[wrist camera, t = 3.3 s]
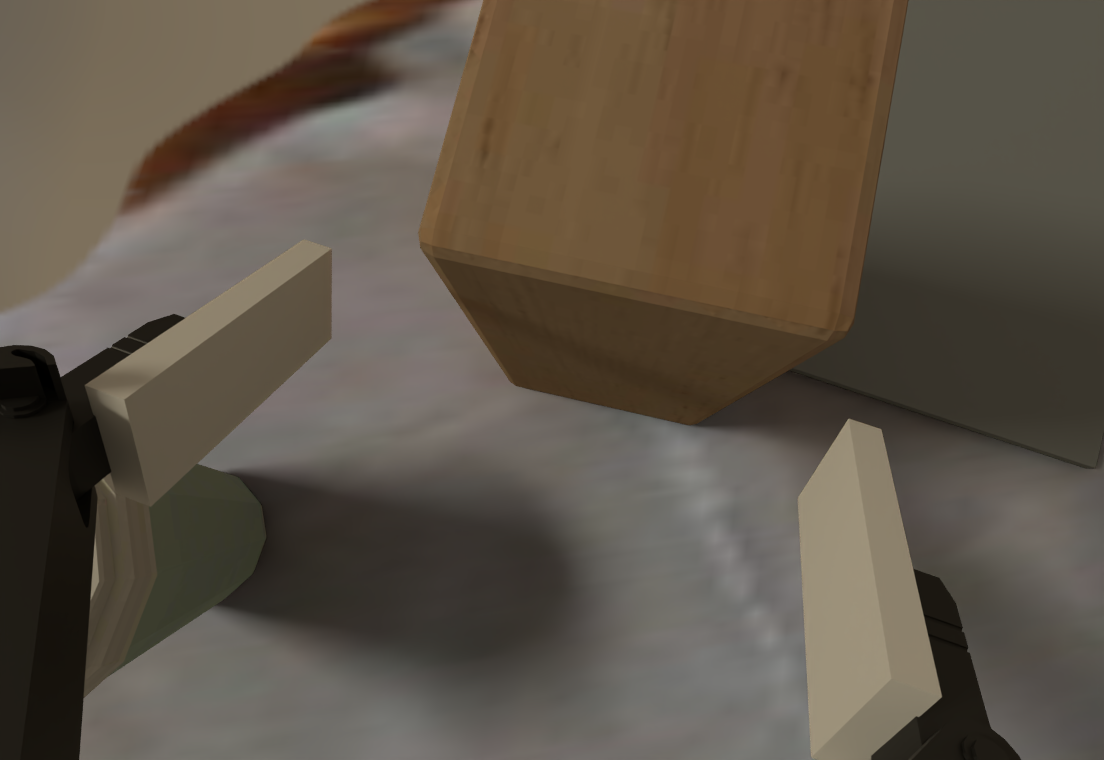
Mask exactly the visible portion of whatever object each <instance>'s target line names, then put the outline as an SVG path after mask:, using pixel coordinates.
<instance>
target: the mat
mask: <svg viewBox="0 0 1104 760" xmlns="http://www.w3.org/2000/svg"><path fill="white" fill-rule="evenodd" d="M790 371H793V372H796V373H799V374H802V375H805V376H808V377H811V378H814V379H817V380H820V381H823V382H826V383H830V384H833V385H836V386H839V387H842V388H845V389H848V390H851V391H854V392H857V393H860V394H863V395H866V396H869V397H872V398H875V399H878V400H881V401H884V402H887V403H890V404H893V405H896V406H899V407H902V408H905V409H908V410H911V411H914V412H917V413H920V414H923V415H926V416H929V417H932V418H935V419H938V420H941V421H944V422H947V423H950V424H953V425H956V426H959V427H962V428H966V429H969V430H972V431H975V432H978V433H981V434H984V435H987V436H990V437H993V438H996V439H999V440H1002V441H1005V442H1008V443H1011V444H1014V445H1017V446H1020V447H1023V448H1026V449H1029V450H1032V451H1035V452H1038V453H1041V454H1044V455H1047V456H1050V457H1053V458H1056V459H1059V460H1062V461H1065V462H1068V463H1071V464H1074V465H1077V466H1080V467H1083V468H1096V464H1097V460H1098V456H1099V452H1100V447H1101V443H1102V439H1103V434H1104V0H909V1H908V7H907V13H906V19H905V25H904V31H903V37H902V43H901V48H900V54H899V60H898V66H897V72H896V78H895V84H894V90H893V96H892V102H891V107H890V113H889V119H888V125H887V131H886V137H885V143H884V149H883V155H882V161H881V166H880V172H879V178H878V184H877V190H876V196H875V202H874V208H873V214H872V219H871V225H870V231H869V237H868V243H867V249H866V255H865V261H864V267H863V273H862V278H861V284H860V290H859V296H858V302H857V308H856V314H855V320H854V324H853V326H852V327H851V329H850V330H849V332H848V333H847V335H846V336H845V338H843V339H842V340H840V341H838V342H837V343H835V344H833V345H831V346H830V347H828V348H826V349H825V350H823V351H821V352H819V353H818V354H816V355H814V356H812V357H811V358H809V359H807V360H806V361H804V362H802V363H800V364H799V365H797V366H795V367H794V368H792V369H790Z"/></svg>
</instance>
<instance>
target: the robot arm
mask: <svg viewBox="0 0 1104 760" xmlns="http://www.w3.org/2000/svg"><path fill="white" fill-rule="evenodd" d="M331 295H332V249H331V248H328V247H325V246H322V245H319V244H316V243H313V242H310V241H307V240H302V241H301V242H299V243H298V244H296V245H295V246H293V247H292V248H290V249H289V250H287V251H286V252H284V253H283V254H281V255H280V256H278V257H277V258H275V259H274V260H272V261H271V262H269V263H268V264H266V265H265V266H263V267H262V268H260V269H259V270H257V271H256V272H254V273H253V274H251V275H250V276H248V277H247V278H245V279H244V280H242V281H241V282H239V283H238V284H236V285H235V286H233V287H232V288H230V289H229V290H227V291H226V292H224V293H223V294H221V295H220V296H218V297H217V298H215V299H214V300H212V301H211V302H209V303H208V304H206V305H204V306H203V307H201V308H200V309H198V310H197V311H195V312H194V313H192V314H191V315H189V316H188V317H186V318H184V317H181V316H178V315H176V314H173V315H170V316H166V317H163V318H160V319H157V320H154V321H151V322H148V323H146V324H145V325H143V326H141V327H140V328H138V329H137V330H135V331H134V332H132V333H130V334H129V335H128V337H127V338H125V337H124V338H122V339H121V340H119V341H118V342H116V343H115V344H113V345H112V347H111V348H107V349H105V350H103V351H102V352H100V353H99V354H97V355H96V356H94V357H92V358H91V359H89V360H88V361H86V362H84V363H83V364H81V365H80V366H78V367H77V368H75V369H73V370H72V371H70V372H69V373H67V374H65V375H64V376H62V377H60V374H59V371H58V368H57V365H56V362H55V358H54V356H53V355H52V354H51V353H49V352H48V351H47V350H45V349H42V348H38V347H34V346H24V345H12V346H6V347H0V760H79V754H80V740H81V726H82V712H83V698H84V684H85V670H86V656H87V642H88V628H89V614H90V600H91V586H92V571H93V557H94V543H95V529H96V515H97V501H98V496H97V492H96V488H95V485H96V484H97V483H98V482H100V481H101V480H102V479H103V478H104V477H106V476H107V475H108V474H109V473H110V474H111V478H112V481H113V485H114V488H115V492H116V494H118V495H121V496H123V497H126V498H129V499H131V500H134V501H137V502H139V503H142V504H145V505H147V506H150V507H151V506H152V505H153V504H154V503H155V502H156V501H158V500H159V499H160V498H161V497H162V496H163V495H164V494H165V493H166V492H167V491H168V490H169V489H170V488H171V487H173V486H174V485H175V484H176V483H177V482H178V481H179V480H180V479H181V478H182V477H183V476H184V475H185V474H186V473H188V472H189V471H190V470H191V469H192V468H193V467H194V466H195V465H196V464H197V463H198V462H199V461H200V460H201V459H203V458H204V457H205V456H206V455H207V454H208V453H209V452H210V451H211V450H212V449H213V448H214V447H215V446H216V445H218V444H219V443H220V442H221V441H222V440H223V439H224V438H225V437H226V436H227V435H228V434H229V433H230V432H231V431H233V430H234V429H235V428H236V427H237V426H238V425H239V424H240V423H241V422H242V421H243V420H244V419H245V418H246V417H248V416H249V415H250V414H251V413H252V412H253V411H254V410H255V409H256V408H257V407H258V406H259V405H260V404H262V403H263V402H264V401H265V400H266V399H267V398H268V397H269V396H270V395H271V394H272V393H273V392H274V391H275V390H277V389H278V388H279V387H280V386H281V385H282V384H283V383H284V382H285V381H286V380H287V379H288V378H289V377H290V376H292V375H293V374H294V373H295V372H296V371H297V370H298V369H299V368H300V367H301V366H302V365H303V364H304V363H305V362H307V361H308V360H309V359H310V358H311V357H312V356H313V355H314V354H315V353H316V352H317V351H318V350H319V349H320V348H322V347H323V346H324V345H325V344H326V343H327V342H328V341H329V340H330V339H331ZM798 511H799V530H800V549H801V568H802V588H803V607H804V626H805V646H806V665H807V684H808V703H809V723H810V742H811V758H814V759H817V760H870V759H871V760H1021V759H1020V757H1019V755H1018V754H1017V753H1016V752H1015V751H1014V750H1013V748H1012V747H1011V746H1010V745H1009V744H1008V743H1007V741H1006V740H1005V739H1004V738H1002V737H1001V736H1000V735H998V734H997V733H996V732H995V731H993V730H992V729H991V727H990V724H989V721H988V717H987V713H986V710H985V706H984V703H983V699H982V695H981V692H980V688H979V685H978V681H977V678H976V674H975V670H974V667H973V663H972V660H971V656H970V653H968V652H967V649H968V645H967V642H966V638H965V634H964V633H963V632H962V628H963V627H962V624H961V620H960V616H959V613H958V609H957V606H956V603H955V601H954V600H953V598H952V597H951V595H950V594H949V592H948V591H947V589H946V588H945V586H944V584H943V583H942V581H941V580H940V578H938V577H935V576H932V575H929V574H926V573H923V572H921V571H918V570H915V569H913V566H912V562H911V558H910V553H909V549H908V544H907V540H906V536H905V531H904V527H903V522H902V518H901V514H900V509H899V505H898V500H897V496H896V491H895V487H894V483H893V478H892V474H891V469H890V465H889V461H888V456H887V452H886V447H885V443H884V438H883V434H882V430H881V429H879V428H876V427H873V426H870V425H867V424H864V423H861V422H858V421H855V420H852V419H848V420H847V422H846V423H845V425H844V427H843V428H842V430H841V431H840V433H839V434H838V436H837V438H836V439H835V441H834V442H833V444H832V445H831V447H830V448H829V450H828V452H827V453H826V455H825V456H824V458H823V459H822V461H821V463H820V464H819V466H818V467H817V469H816V470H815V472H814V474H813V475H812V477H811V478H810V480H809V481H808V483H807V484H806V486H805V488H804V489H803V491H802V492H801V494H800V495H799V497H798Z"/></svg>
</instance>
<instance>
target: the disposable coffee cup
mask: <svg viewBox="0 0 1104 760" xmlns="http://www.w3.org/2000/svg"><path fill="white" fill-rule="evenodd" d="M95 488H96V492H97V496H98V501H97V515H96V529H95V543H94V557H93V571H92V586H91V600H90V614H89V628H88V642H87V656H86V670H85V684H84V697H85V696H87V695H88V694H89V693H90V692H91V691H92V690H93V689H94V688H95V687H97V686H98V685H99V684H100V683H101V682H102V681H103V680H104V679H105V678H107V677H108V676H110V675H111V674H113V673H114V672H116V671H117V670H119V669H120V668H122V667H123V666H125V665H126V664H128V663H129V662H131V661H132V660H134V659H135V658H137V657H138V656H140V655H141V654H143V653H144V652H146V651H147V650H149V649H150V648H152V647H153V646H155V645H156V644H158V643H159V642H161V641H162V640H164V639H165V638H167V637H168V636H170V635H171V634H173V633H174V632H176V631H177V630H179V629H180V628H182V627H183V626H185V625H186V624H188V623H189V622H191V621H192V620H194V619H195V618H197V617H198V616H200V615H201V614H203V613H204V612H206V611H207V610H209V609H210V608H212V607H213V606H215V605H216V604H218V603H219V602H221V601H222V600H224V599H225V598H226V597H228V596H229V595H230V594H231V593H232V592H233V591H234V590H235V589H236V588H238V587H239V586H240V585H241V584H242V583H243V582H244V581H245V580H246V579H248V578H249V577H250V576H251V575H252V574H253V572H254V570H255V567H256V565H257V562H258V559H259V556H260V554H261V551H262V548H263V546H264V543H265V540H266V537H267V536H266V530H265V523H264V517H263V510H262V505H261V504H260V502H259V501H258V500H257V499H256V497H255V496H254V495H253V494H252V493H251V491H250V490H249V489H248V488H247V487H246V485H245V484H244V483H243V482H242V481H241V479H240V478H239V477H236V476H233V475H230V474H227V473H224V472H221V471H218V470H215V469H211V468H208V467H205V466H202V465H199V464H196V465H195V466H194V467H193V468H192V469H191V470H190V471H189V472H188V473H186V474H185V475H184V476H183V477H182V478H181V479H180V480H179V481H178V482H177V483H176V484H175V485H174V486H173V487H171V488H170V489H169V490H168V491H167V492H166V493H165V494H164V495H163V496H162V497H161V498H160V499H159V500H158V501H156V502H155V503H154V504H153V505H152V506H151V507H150V506H147V505H145V504H142V503H139V502H137V501H134V500H131V499H129V498H126V497H123V496H121V495H118V494H116V492H115V488H114V485H113V481H112V478H111V474H110V473H109V474H108V475H107V476H106V477H104V478H103V479H102V480H101V481H100V482H98V483H97V484H96V485H95Z"/></svg>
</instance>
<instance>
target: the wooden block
mask: <svg viewBox="0 0 1104 760" xmlns="http://www.w3.org/2000/svg"><path fill="white" fill-rule="evenodd" d="M908 1H909V0H483V4H482V7H481V11H480V15H479V18H478V22H477V25H476V29H475V32H474V36H473V39H472V43H471V47H470V50H469V54H468V57H467V61H466V64H465V68H464V72H463V75H462V79H461V82H460V86H459V89H458V93H457V96H456V100H455V104H454V107H453V111H452V114H451V118H450V121H449V125H448V129H447V132H446V136H445V139H444V143H443V146H442V150H441V153H440V157H439V161H438V164H437V168H436V171H435V175H434V178H433V182H432V185H431V189H430V193H429V196H428V200H427V203H426V207H425V210H424V214H423V218H422V221H421V225H420V228H419V232H418V234H419V241H420V248H421V250H422V251H423V253H424V254H425V256H426V257H427V258H428V260H429V261H430V263H431V264H432V266H433V267H434V269H435V270H436V272H437V273H438V275H439V276H440V278H441V279H442V281H443V282H444V284H445V285H446V287H447V288H448V290H449V291H450V293H451V294H452V296H453V297H454V299H455V300H456V302H457V303H458V305H459V306H460V308H461V309H462V311H463V312H464V314H465V315H466V317H467V318H468V320H469V321H470V323H471V324H472V325H473V327H474V328H475V330H476V331H477V333H478V334H479V336H480V337H481V339H482V340H483V342H484V343H485V345H486V346H487V348H488V349H489V351H490V352H491V354H492V355H493V357H494V358H495V360H496V361H497V363H498V364H499V366H500V367H501V369H502V370H503V372H504V373H505V375H506V376H507V378H508V379H509V381H510V382H511V383H513V384H514V385H516V386H519V387H523V388H528V389H532V390H537V391H541V392H545V393H550V394H554V395H558V396H563V397H567V398H572V399H576V400H580V401H585V402H589V403H594V404H598V405H602V406H607V407H611V408H616V409H620V410H624V411H629V412H633V413H638V414H642V415H646V416H651V417H655V418H659V419H664V420H668V421H673V422H677V423H681V424H686V425H693V424H697V423H699V422H701V421H702V420H704V419H706V418H708V417H709V416H711V415H713V414H714V413H716V412H718V411H720V410H721V409H723V408H725V407H726V406H728V405H730V404H732V403H733V402H735V401H737V400H738V399H740V398H742V397H744V396H745V395H747V394H749V393H751V392H752V391H754V390H756V389H757V388H759V387H761V386H763V385H764V384H766V383H768V382H769V381H771V380H773V379H775V378H776V377H778V376H780V375H782V374H783V373H785V372H787V371H788V370H790V369H792V368H794V367H795V366H797V365H799V364H800V363H802V362H804V361H806V360H807V359H809V358H811V357H812V356H814V355H816V354H818V353H819V352H821V351H823V350H825V349H826V348H828V347H830V346H831V345H833V344H835V343H837V342H838V341H840V340H842V339H843V338H845V336H846V335H847V333H848V332H849V330H850V329H851V327H852V326H853V324H854V320H855V314H856V308H857V302H858V296H859V290H860V284H861V278H862V273H863V267H864V261H865V255H866V249H867V243H868V237H869V231H870V225H871V219H872V214H873V208H874V202H875V196H876V190H877V184H878V178H879V172H880V166H881V161H882V155H883V149H884V143H885V137H886V131H887V125H888V119H889V113H890V107H891V102H892V96H893V90H894V84H895V78H896V72H897V66H898V60H899V54H900V48H901V43H902V37H903V31H904V25H905V19H906V13H907V7H908Z"/></svg>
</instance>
